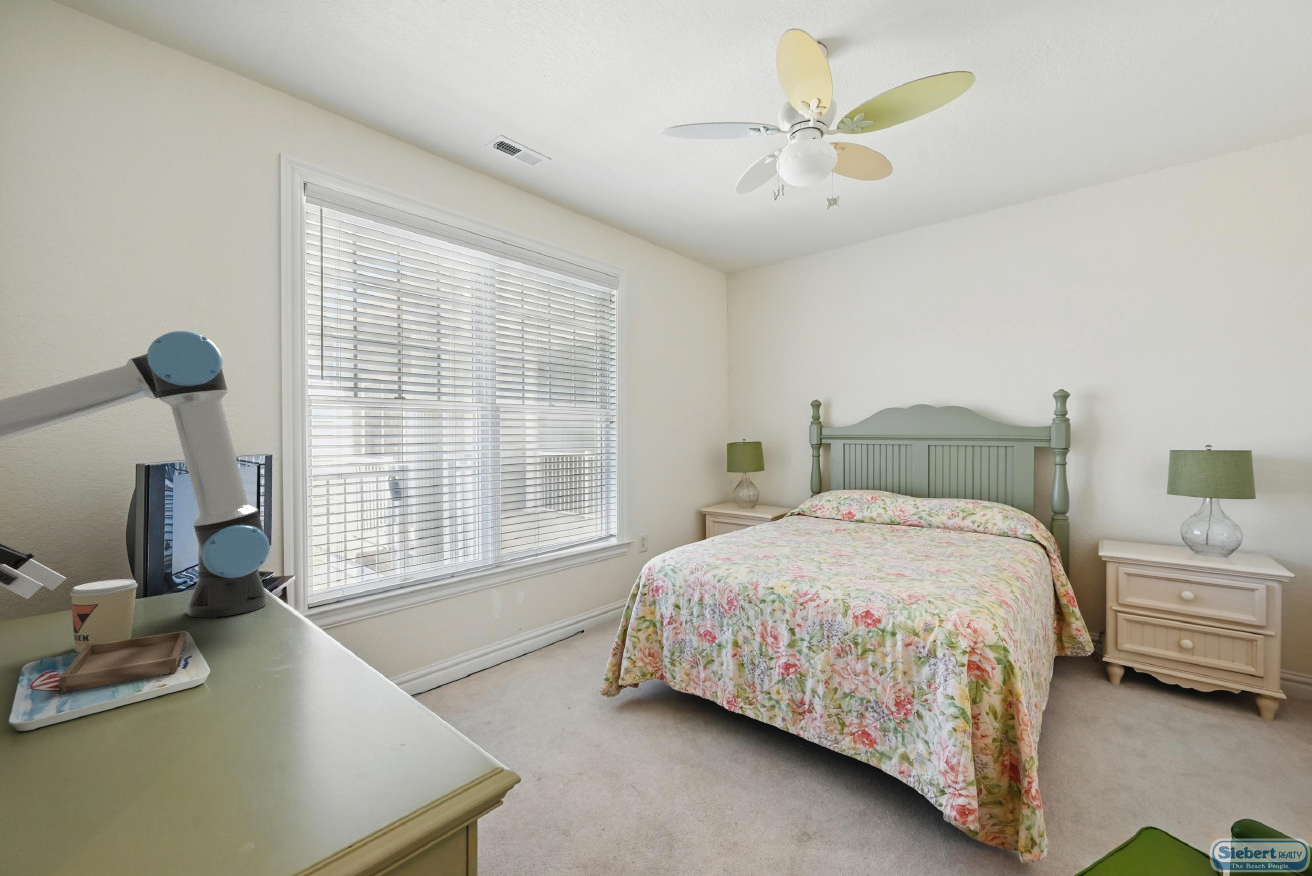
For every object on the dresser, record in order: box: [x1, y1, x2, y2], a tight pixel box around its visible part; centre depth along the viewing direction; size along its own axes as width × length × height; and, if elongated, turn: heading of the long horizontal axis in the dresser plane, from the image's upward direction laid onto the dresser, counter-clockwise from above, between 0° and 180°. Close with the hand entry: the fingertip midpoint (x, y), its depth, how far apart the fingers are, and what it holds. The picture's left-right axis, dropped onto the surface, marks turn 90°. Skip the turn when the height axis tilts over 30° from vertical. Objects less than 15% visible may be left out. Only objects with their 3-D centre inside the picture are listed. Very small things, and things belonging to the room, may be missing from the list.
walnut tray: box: [58, 630, 187, 693], centre depth 98 cm, size 14×18×2 cm
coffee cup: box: [70, 578, 138, 653], centre depth 108 cm, size 9×9×12 cm
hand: (48, 588), depth 102 cm, fingers open, 13 cm apart
